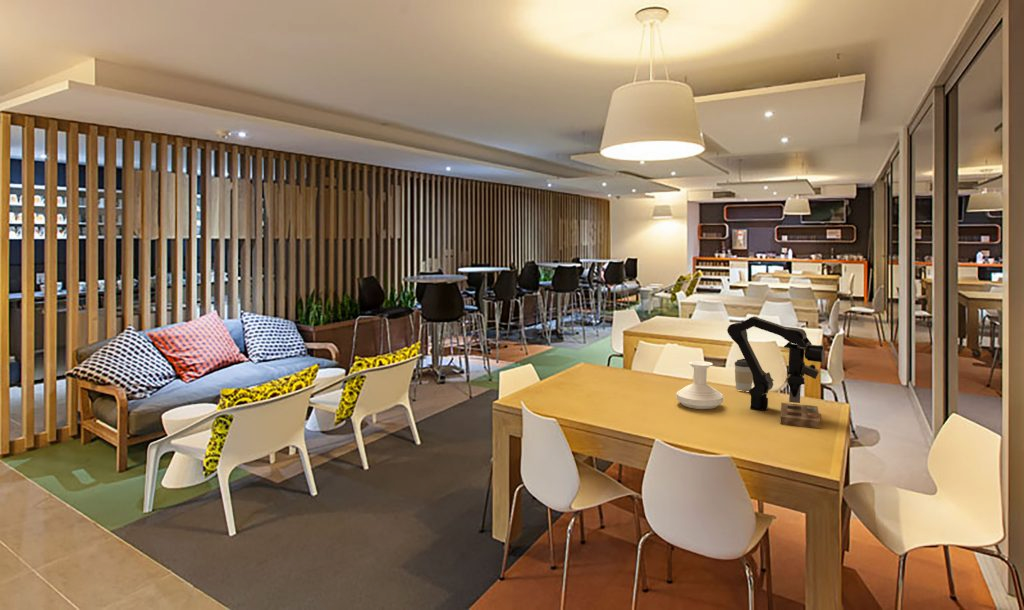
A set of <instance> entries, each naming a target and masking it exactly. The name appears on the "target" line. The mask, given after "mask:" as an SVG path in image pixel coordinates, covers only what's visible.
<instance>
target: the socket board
mask: <svg viewBox="0 0 1024 610" xmlns="http://www.w3.org/2000/svg"><path fill="white" fill-rule="evenodd" d="M780 425H787V426H794V427H795V426H797V427H803V428H805V427H806V428H813V429H821V418H820V411H819V406H817V405H810V404H809V405H808V404H802V403H801V404H800V403H792V402H781V403H780Z"/></svg>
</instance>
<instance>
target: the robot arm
mask: <svg viewBox="0 0 1024 610" xmlns="http://www.w3.org/2000/svg"><path fill="white" fill-rule="evenodd" d="M751 328H756V329H760V330H762V331H765V332H769V333H772V334H775V335H776V336H780V337H782V338H783V339H784V340H785V341H787V342H786V344H785V345H784V346H783V348H786V349H788V367H787V371H786V373H787V377H786V380H787V381H786V383H787V384H788V387H789V391H790V390H791V392H792V395H793V397H796V396H797V392H798V389H799V386H800V385H801V386H802V385H805V377H804V376H805V375H806V376H808V377H809V378H810V377H811V378H812V379H814V380H816V379H817V377H818V375H819V373H820V372H819V370H818V369H817V368H816V365H814V364H810V365H806V362H805V359H806V360H807V361H808V362H819V363H824V362H825V359H826V352H825V351H826V350H825V345H821V344H820V345H817V344H812V343H811V341H810V339H809V338H808V337H807V336H808V335H807V332H806V330H805V329H803V328H798V327H792V326H791V327H790V326H784V325H782V324H778V323H775V322H772V321H769V320H766V319H763V318H760V317H758V316H755V315H754V316H751V317H749V318H748V319H745V320H743V321H741V322H739V321H738V322H735V323H731V324H730V325H728V326H727V329H726V331H727V334H728V336H729V337H730V338H731V339H732V340H733V342H734V343H735V344H737V346H738V348H739V350H740V352H741V354H742V356H743V357H744V358H743V359H745V360H746V362H747V364H748V366H749V368H750V370H751V372H752V375H753V382H752V384H753V386H752V388H751V389H750V390H749V392H748V393H749V396H750V406H749V409H750V410H757V411H767V409H768V408H769V397H768V393H769V391H770V390H772V389H773V386H774V379H773V378H772V375H771V373H770V372H765V370H764V369H763V368H762V365H761V364H760V362H759V360H758V358H757V356H756V354H755V352H754V350H753V347H752V346H751V343H750V342H749V339H748V332H747V330H749V329H751Z"/></svg>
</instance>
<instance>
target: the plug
mask: <svg viewBox="0 0 1024 610" xmlns="http://www.w3.org/2000/svg"><path fill="white" fill-rule="evenodd" d="M801 388H802V385H800V386H799V389H798V392H797V396H796V397H793V395H792V392H791V390H790V389H789V395H788V396H789V399H788V400H789V401H788V403H792V404H800V403H801Z"/></svg>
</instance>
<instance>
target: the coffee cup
mask: <svg viewBox="0 0 1024 610" xmlns="http://www.w3.org/2000/svg"><path fill="white" fill-rule="evenodd" d="M734 382H735V390H736V389H737V390H742V391H749V390H750V389H752V388H753V375H752V372H751V370H750V368H749V366H748V364H747V362H746V360H745V358H741V359H737V360H736V361H735V362H734ZM737 390H736V391H737Z"/></svg>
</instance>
